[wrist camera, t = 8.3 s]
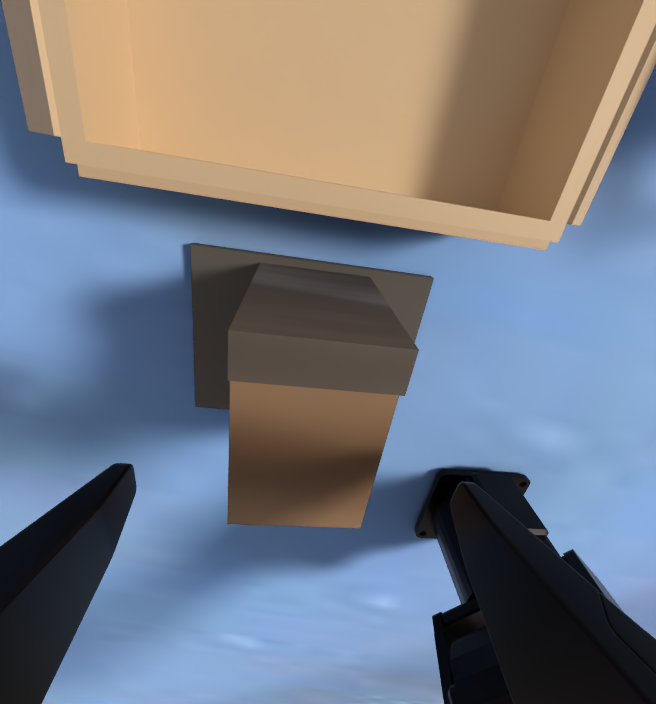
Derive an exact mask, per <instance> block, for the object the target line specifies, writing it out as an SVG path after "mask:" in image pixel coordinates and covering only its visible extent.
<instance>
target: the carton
mask: <svg viewBox="0 0 656 704" xmlns="http://www.w3.org/2000/svg"><path fill="white" fill-rule="evenodd" d="M1 2H2V7H3V12H4V16H5V21H6V26H7V31H8V35H9V40H10V45H11V50H12V54H13V59H14V64H15V69H16V73H17V78H18V83H19V88H20V92H21V97H22V102H23V107H24V112H25V116H26V121H27V126H28V131H31V132H37V133H42V134H47V135H52V136H58V137H61V140H62V145H63V151H64V157H65V162H67V163H73V164H77V166H78V172H79V176H81V177H87V178H93V179H100V180H106V181H112V182H118V183H125V184H131V185H137V186H144V187H150V188H156V189H163V190H169V191H175V192H181V193H188V194H194V195H200V196H207V197H213V198H219V199H226V200H232V201H238V202H244V203H251V204H257V205H263V206H270V207H276V208H282V209H288V210H295V211H301V212H307V213H314V214H320V215H326V216H333V217H339V218H345V219H351V220H358V221H364V222H370V223H377V224H383V225H389V226H396V227H402V228H408V229H414V230H421V231H427V232H433V233H440V234H446V235H452V236H459V237H465V238H471V239H477V240H484V241H490V242H496V243H503V244H509V245H515V246H522V247H528V248H534V249H540V250H547V248H548V245H549V243H550V241H551V242H559V240H560V238H561V235H562V233H563V231H564V229H565V226H566V224H571V225H578V226H581V224H582V221H583V219H584V217H585V215H586V213H587V211H588V209H589V206H590V204H591V202H592V200H593V198H594V196H595V194H596V191H597V189H598V187H599V185H600V183H601V181H602V179H603V176H604V174H605V172H606V170H607V168H608V166H609V164H610V161H611V159H612V157H613V155H614V153H615V151H616V149H617V146H618V144H619V142H620V140H621V138H622V136H623V134H624V131H625V129H626V127H627V125H628V123H629V121H630V119H631V116H632V114H633V112H634V110H635V108H636V106H637V104H638V101H639V99H640V97H641V95H642V93H643V91H644V89H645V86H646V84H647V82H648V80H649V78H650V76H651V74H652V71H653V69H654V67H655V65H656V0H1Z"/></svg>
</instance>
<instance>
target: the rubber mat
mask: <svg viewBox="0 0 656 704" xmlns="http://www.w3.org/2000/svg"><path fill="white" fill-rule="evenodd" d="M260 263H268V264H276V265H283V266H291V267H299V268H306V269H314V270H322V271H329V272H337V273H345V274H352V275H360V276H368V277H370V278H371V279H372V281H373V282H374V284H375V285H376V287H377V288H378V290H379V291H380V293H381V294H382V296H383V297H384V299H385V300H386V302H387V303H388V305H389V306H390V308H391V309H392V311H393V312H394V314H395V315H396V317H397V318H398V320H399V321H400V323H401V324H402V326H403V327H404V329H405V330H406V332H407V333H408V335H409V336H410V338H411V339H412V341H413V342H414V343H415V339H416V336H417V333H418V329H419V326H420V323H421V319H422V316H423V313H424V309H425V306H426V303H427V299H428V296H429V293H430V289H431V286H432V283H433V279H434V278H432V277H431V276H425V275H418V274H411V273H404V272H397V271H390V270H383V269H376V268H368V267H361V266H354V265H347V264H340V263H333V262H326V261H319V260H312V259H304V258H297V257H290V256H283V255H276V254H269V253H262V252H255V251H248V250H241V249H233V248H226V247H219V246H212V245H205V244H198V243H192V244H191V274H192V307H193V340H194V373H195V406H196V407H204V408H217V409H229V410H230V381H227V380H228V330H229V327H230V325H231V323H232V321H233V319H234V317H235V315H236V313H237V311H238V309H239V306H240V304H241V302H242V300H243V298H244V296H245V294H246V292H247V290H248V288H249V286H250V283H251V281H252V279H253V277H254V275H255V273H256V271H257V269H258V267H259V265H260Z"/></svg>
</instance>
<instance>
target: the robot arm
mask: <svg viewBox="0 0 656 704" xmlns="http://www.w3.org/2000/svg"><path fill="white" fill-rule="evenodd" d="M529 485H530V480H529V479H528V478H527V476H526V475H523V474H509V473H492V472H476V471H460V470H442V471H440V472H438V474H437V476H436V478H435V480H434V483H433V485H432V488H431V490H430V493H429V495H428V497H427V500H426V502H425V505H424V507H423V509H422V512H421V514H420V517H419V519H418V521H417V524H416V526H415V533H416V536H417V537H419V538H437V540H438V543H439V545H440V548H441V551H442V553H443V556H444V559H445V561H446V564H447V567H448V569H449V572H450V575H451V577H452V580H453V583H454V586H455V588H456V591H457V594H458V596H459V599H460V602H461V605H459V606H457V607H455V608H453V609H450V610H448V611H446V612H444V613H442V612H439V613H437V614H435V615H433V616H432V619H433V626H434V637H435V643H436V650H437V657H438V664H439V671H440V678H441V685H442V692H443V699H444V704H656V639H655V638H654V637H652V636H651V635H650V634H649V633H647V632H646V631H645V630H644V629H643V628H641V627H640V626H639V625H638V624H637V623H635V622H634V621H633V620H632V619H631V618H630V617H628V616H627V615H626V614H625V613H624V612H623V611H622V610H621V608H620V607H619V606H618V604H617V603H616V602H615V600H614V599H613V598H612V596H611V595H610V594H609V592H608V591H607V589H606V588H605V587H604V586H603V584H602V583H601V582H600V581H599V579H598V578H597V577H596V576H595V575H594V574H593V572H592V571H591V570H590V569H589V568H588V567H587V565H586V564H585V563H584V562H583V561H582V559H581V558H580V557H579V556H578V555H577V554H576V552H575V551H574V550H573V549H572V550H570V551H568V552H566V553H563V554H564V556H562V557H561V556H560V555H559V553H558V552H557V551H556V549H555V548H554V546H553V545H552V543H551V542H550V540H549V539H548V537H547V535H548V531H547V529H546V528H545V526H544V525H543V523H542V522H541V520H540V519H539V517H538V516H537V515H536V513H535V512H534V510H533V509H532V507H531V506H530V504H529V503H528V502H527V500H526V499H525V497H524V496H523V495H524V493H525V492H526V490H527V488H528V487H529ZM135 493H136V480H135V473H134V467H133V465H132V464H124V463H116V464H113V465H111V466H110V467H109V468H107V469H106V470H105V471H103V472H102V473H100V474H99V475H98V476H96V477H95V478H94V479H92V480H91V481H89V482H88V483H87V484H85V485H84V486H83V487H81V488H80V489H78V490H77V491H76V492H74V493H73V494H72V495H70V496H69V497H68V498H66V499H65V500H63V501H62V502H61V503H59V504H58V505H57V506H55V507H54V508H52V509H51V510H50V511H48V512H47V513H46V514H44V515H43V516H41V517H40V518H39V519H37V520H36V521H35V522H33V523H32V524H30V525H29V526H28V527H26V528H25V529H24V530H22V531H21V532H20V533H18V534H17V535H15V536H14V537H13V538H11V539H10V540H9V541H7V542H6V543H4V544H3V545H2V546H0V704H42V702H43V700H44V698H45V695H46V693H47V691H48V689H49V687H50V685H51V683H52V681H53V679H54V677H55V675H56V673H57V671H58V669H59V667H60V664H61V662H62V660H63V658H64V656H65V654H66V652H67V650H68V648H69V646H70V644H71V642H72V640H73V638H74V636H75V633H76V631H77V629H78V627H79V625H80V623H81V621H82V619H83V617H84V615H85V613H86V611H87V609H88V607H89V605H90V602H91V600H92V598H93V596H94V594H95V592H96V590H97V588H98V586H99V584H100V582H101V580H102V578H103V576H104V574H105V571H106V569H107V567H108V565H109V563H110V561H111V559H112V556H113V554H114V551H115V549H116V546H117V543H118V541H119V538H120V535H121V532H122V530H123V527H124V524H125V521H126V519H127V516H128V513H129V510H130V508H131V505H132V502H133V499H134V497H135Z"/></svg>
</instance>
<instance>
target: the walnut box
mask: <svg viewBox="0 0 656 704" xmlns="http://www.w3.org/2000/svg"><path fill="white" fill-rule="evenodd" d="M418 351H419V350H418V348H417V347H416V345H415V344H414V342H413V341H412V339H411V338H410V336H409V335H408V333H407V332H406V330H405V329H404V327H403V326H402V324H401V323H400V321H399V320H398V318H397V317H396V315H395V314H394V312H393V311H392V309H391V308H390V306H389V305H388V303H387V302H386V300H385V299H384V297H383V296H382V294H381V293H380V291H379V290H378V288H377V287H376V285H375V284H374V282H373V281H372V279H371V278H370V277H368V276H360V275H352V274H345V273H337V272H329V271H322V270H314V269H306V268H299V267H291V266H283V265H276V264H268V263H260V265H259V267H258V269H257V271H256V273H255V275H254V277H253V279H252V281H251V283H250V286H249V288H248V290H247V292H246V294H245V296H244V298H243V300H242V302H241V304H240V306H239V309H238V311H237V313H236V315H235V317H234V319H233V321H232V323H231V325H230V327H229V330H228V380H227V381H230V416H229V472H228V524H244V525H275V526H306V527H336V528H361V524H362V521H363V517H364V514H365V510H366V507H367V504H368V500H369V497H370V493H371V490H372V487H373V483H374V480H375V476H376V473H377V469H378V466H379V463H380V459H381V456H382V452H383V449H384V446H385V442H386V439H387V435H388V432H389V428H390V425H391V422H392V418H393V415H394V411H395V408H396V405H397V401H398V398H399V395H401V396H405V394H406V391H407V387H408V384H409V381H410V377H411V374H412V371H413V367H414V364H415V361H416V358H417V354H418Z"/></svg>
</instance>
